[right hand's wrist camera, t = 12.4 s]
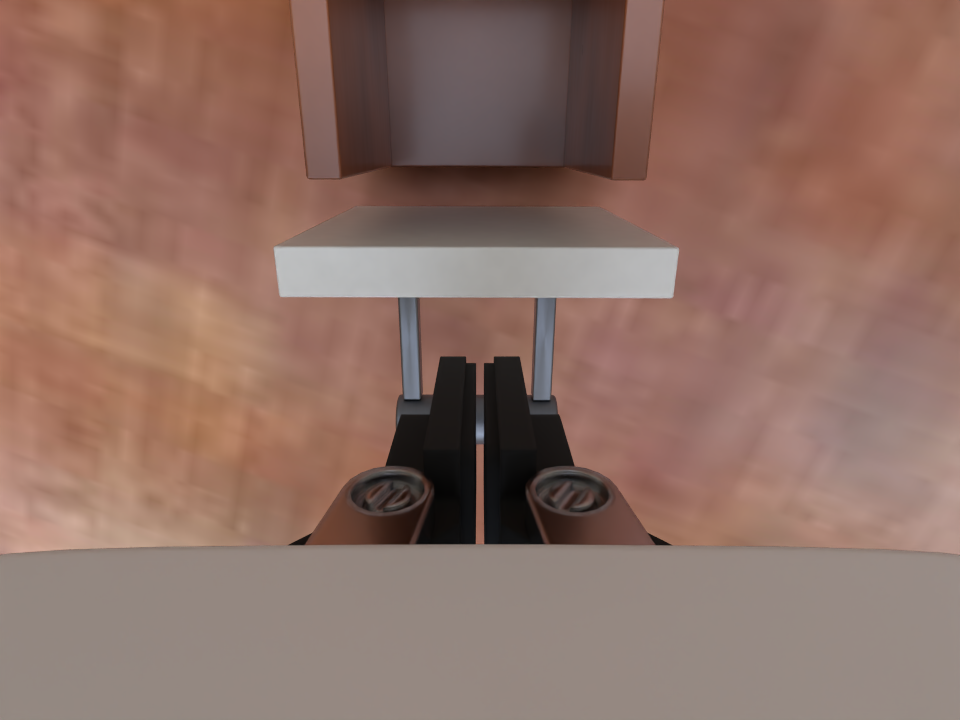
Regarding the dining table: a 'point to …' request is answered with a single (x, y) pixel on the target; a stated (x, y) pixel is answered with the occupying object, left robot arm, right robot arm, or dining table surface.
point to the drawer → (476, 156)
